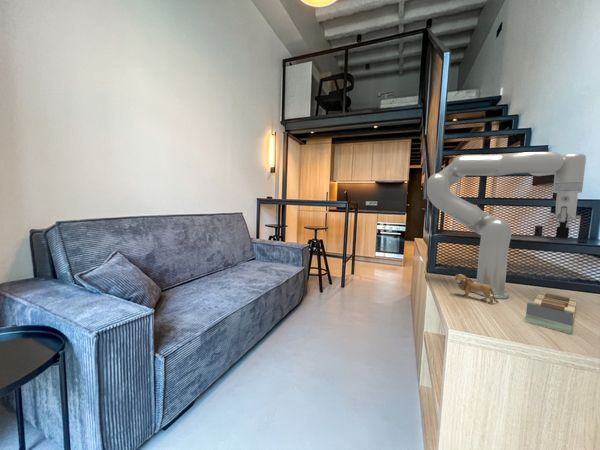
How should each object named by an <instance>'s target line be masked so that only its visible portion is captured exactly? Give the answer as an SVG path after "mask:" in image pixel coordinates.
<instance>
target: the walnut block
mask: <svg viewBox="0 0 600 450" xmlns="http://www.w3.org/2000/svg"><path fill="white" fill-rule="evenodd" d="M541 305H542V306H547V307H551V308H555V309H560V310H564V311H565V303H563V302H558V301H553V300H549V299H544V298H543V300H542V302H541Z"/></svg>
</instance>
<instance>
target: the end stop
mask: <svg viewBox="0 0 600 450" xmlns="http://www.w3.org/2000/svg"><path fill="white" fill-rule="evenodd" d="M526 304H527V305H526V313H525V315H526V314H528V315H532V316H536V317H540V318H543V319H547V320H551V321H555V322H559V323H563V324H567V325H571V326H572V323H573V324H574V320H573V315H574V316H575V314H574V313H573V312H568V311H564V310H560V309H555V308H551V307H547V306H542V305H538V304H534V303H533V302H529V301H528V302H527V303H526ZM572 327H573V326H572Z"/></svg>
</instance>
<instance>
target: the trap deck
mask: <svg viewBox="0 0 600 450" xmlns="http://www.w3.org/2000/svg"><path fill="white" fill-rule="evenodd" d="M543 298H544V299H549V300H553V301H558V302H563V303H565V311H568V312H573V313H574V315H573V321H574V319H575V315H576V314H575V313H576V307H577V298H574V297H569V296H563V295H559V294H554V293H549V292H544V291H539V293H538V295H537V296H536V298H535V299H534V301H533V302H532V303H534V304H538V305H541V302H542V300H543ZM524 322H525V323H529V324H533V325H536V326H539V325H541V326H540V327H543V326H545V327H544V328H547V327H549V328H548V329H550V328H552V329H551V330H554V329H555V331H557V330H559V331H558V332H561V331H563V332H562V333H565V332H566V333H565V334H568V333H569V335H572V332H573V331H572V330H573V324H574V322H573V323H572V326H571V325H567V324H563V323H559V322H555V321H551V320H547V319H543V318H540V317H536V316H532V315H528V314H526V313H525V321H524Z"/></svg>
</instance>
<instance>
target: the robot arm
mask: <svg viewBox="0 0 600 450" xmlns="http://www.w3.org/2000/svg"><path fill="white" fill-rule="evenodd" d="M586 162H587V156H586V155H585V154H584V153H567V154H562V155H561V154H560V153H558V152H554V151H526V152H523V151H522V152H513V153H510V152H509V153H497V154H496V153H494V154H492V153H491V154H461V155H458V156H456V157H454V159H453V160H452V162H450V164H448V165H446V166H445V167H444V168H443V169H442V170H440V171H439V172H436V173H434V174H431V175H430V176H429V178H428V179H427V182H426V194H427V197H428V201H430V203H431V204H432V205H433V206H434V207H435V208H436V209H438V210H439V211H441V212H443V213H444V214H446V215H448V216H449V217H451V218H452V219H454V220H456V222H457V223H458V224H460V225H462V226H463V227H466V228H467V229H469V230H471V231H472V232H474V233H476V234H478V235H479V236H480V240H479V241H480V242H479V247H478V248H479V250H478V260H477V261H478V263H477V272H476V279H474V280H472V281H473V282H474V283H478V284H487V285H489V286H490V287H491V288H492V290H493V293H494V297H495V299H500V300H501V299H502V300H503V299H508V298H509V297H510V294H509V292H507V291H505V288H506V278H507V268H508V267H507V266H508V257H509V248H510V243H511V239H512V232H513V231H512V226H511V225H510V223H509V222H508V221H507V220H505V219H504V218H499V217H496V216H493V215H491V214H489V213H487V212H485V211H484V210H482V209H481V208H480V207H479V206H477V205H476V204H474V203H471V202H469V201H466V200H465V199H463V198H461V197H460V196H458V195H456V194H455V193H453V192H451V190H450V187H452V186H453V185H455V184H456V183H458V182H459V181H460V180H462V179H464V177H466V176H471V177H472V176H476V177H477V176H483V177H484V176H485V177H486V176H487V177H488V176H489V177H496V176H497V177H499V176H505V175H511V174H512V175H513V174H530V175H532V176H534V177H542V176H551V175H554V176H553V177H554V179H553V188H552V193H554V194H556V200H555V219H557V226H556V233H555V238H557V239H566V240H567V239H568V238H569V234H570V233H569V232H570V227H569V226H570V219H571V220H575V219H576V215H577V207H578V198H579V197H578V195H579V193H581V194H582V193H583V186H584V185H583V184H584V178H585V172H586V171H585V170H586ZM473 293H475V294H477V295H479V296H483V297H485V295H484V294H483V292H473ZM490 296H491V297H492V298H493V296H492V293H491V291H490Z"/></svg>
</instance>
